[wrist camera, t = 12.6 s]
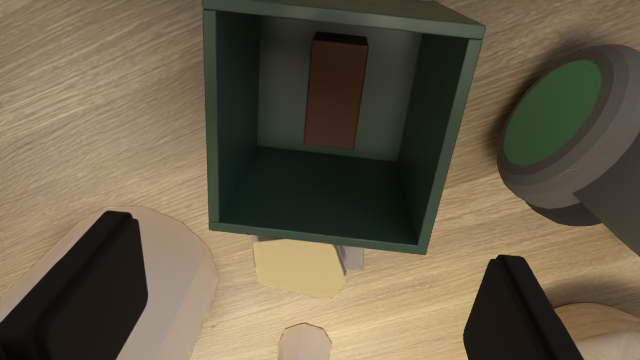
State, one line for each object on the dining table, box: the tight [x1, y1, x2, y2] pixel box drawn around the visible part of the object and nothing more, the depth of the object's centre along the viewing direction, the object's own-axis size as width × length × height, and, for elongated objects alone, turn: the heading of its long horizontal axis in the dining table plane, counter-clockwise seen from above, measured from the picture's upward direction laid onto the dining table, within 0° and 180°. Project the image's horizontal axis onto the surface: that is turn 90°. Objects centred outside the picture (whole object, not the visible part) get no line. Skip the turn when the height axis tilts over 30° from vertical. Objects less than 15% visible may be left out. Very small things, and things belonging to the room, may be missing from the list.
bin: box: [202, 0, 486, 255], centre depth 26 cm, size 12×12×12 cm
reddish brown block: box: [303, 31, 369, 150], centre depth 29 cm, size 7×4×4 cm, turn 175°
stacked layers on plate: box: [251, 235, 364, 299], centre depth 35 cm, size 10×9×6 cm
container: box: [0, 207, 219, 360], centre depth 33 cm, size 14×14×18 cm
